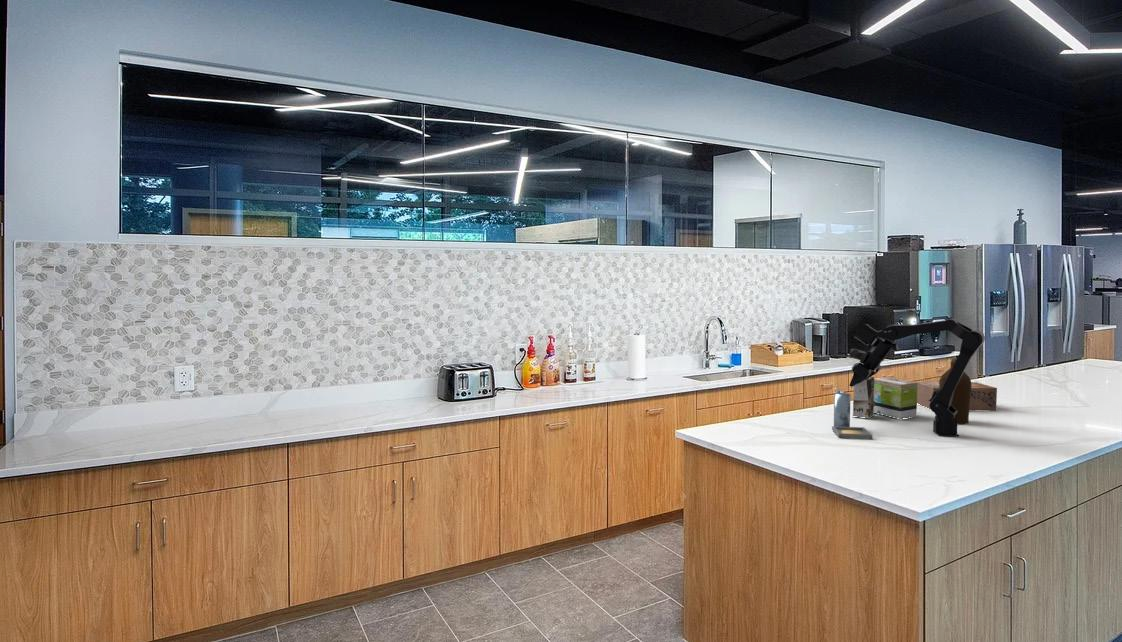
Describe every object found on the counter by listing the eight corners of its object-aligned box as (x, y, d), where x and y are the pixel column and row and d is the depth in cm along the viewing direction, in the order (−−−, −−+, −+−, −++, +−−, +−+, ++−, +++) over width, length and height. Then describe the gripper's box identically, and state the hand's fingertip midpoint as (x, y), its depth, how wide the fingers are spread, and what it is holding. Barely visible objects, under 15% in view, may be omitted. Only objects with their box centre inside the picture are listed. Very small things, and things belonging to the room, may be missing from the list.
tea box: (867, 413, 257) (868, 378, 256) (884, 410, 262) (884, 376, 261) (900, 420, 244) (901, 383, 243) (917, 417, 248) (918, 381, 247)
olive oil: (964, 426, 233) (966, 360, 232) (933, 421, 241) (935, 358, 240) (974, 421, 240) (976, 358, 238) (943, 417, 248) (945, 355, 246)
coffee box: (869, 419, 246) (870, 379, 245) (852, 417, 250) (853, 378, 248) (874, 415, 253) (875, 376, 252) (857, 413, 257) (858, 375, 256)
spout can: (847, 426, 235) (848, 386, 234) (851, 429, 230) (852, 388, 229) (832, 425, 236) (832, 385, 235) (835, 429, 231) (836, 388, 230)
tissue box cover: (975, 404, 273) (976, 382, 272) (996, 411, 259) (997, 388, 258) (915, 404, 275) (916, 382, 274) (932, 411, 260) (933, 388, 260)
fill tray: (863, 431, 227) (863, 427, 227) (872, 439, 216) (872, 434, 216) (831, 430, 229) (832, 426, 229) (838, 438, 218) (838, 433, 218)
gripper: (866, 338, 246) (843, 369, 252) (852, 342, 232) (828, 375, 238) (891, 355, 240) (867, 386, 246) (879, 360, 226) (854, 393, 232)
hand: (853, 384), depth 241 cm, fingers open, 9 cm apart
